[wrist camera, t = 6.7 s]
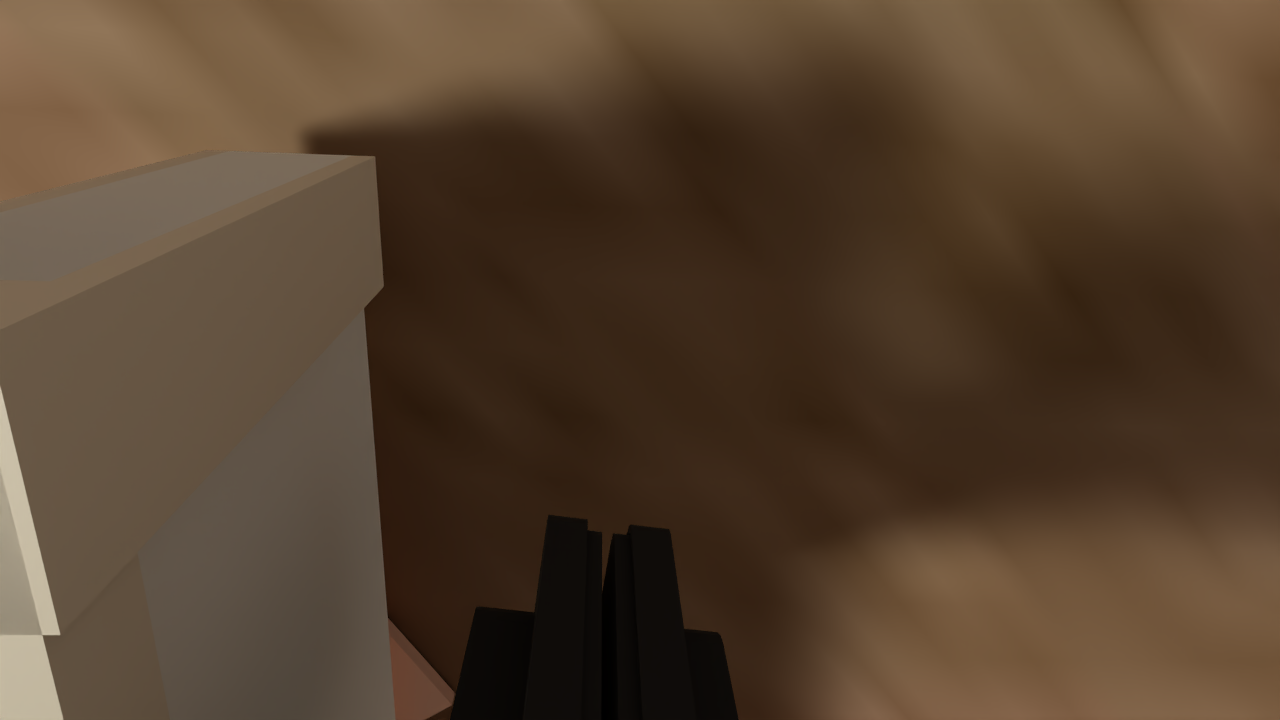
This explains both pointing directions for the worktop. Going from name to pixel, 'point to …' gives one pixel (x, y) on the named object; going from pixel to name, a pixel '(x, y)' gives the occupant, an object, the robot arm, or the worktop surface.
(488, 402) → the worktop surface
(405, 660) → the brown square tile
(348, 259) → the gate
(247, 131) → the worktop surface
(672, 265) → the worktop surface
